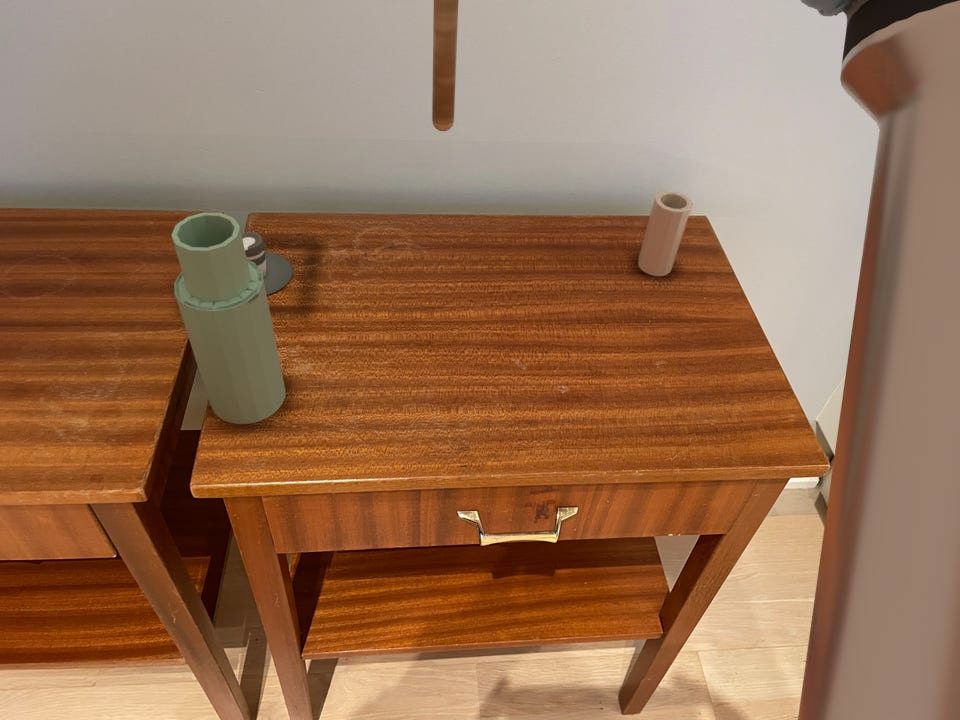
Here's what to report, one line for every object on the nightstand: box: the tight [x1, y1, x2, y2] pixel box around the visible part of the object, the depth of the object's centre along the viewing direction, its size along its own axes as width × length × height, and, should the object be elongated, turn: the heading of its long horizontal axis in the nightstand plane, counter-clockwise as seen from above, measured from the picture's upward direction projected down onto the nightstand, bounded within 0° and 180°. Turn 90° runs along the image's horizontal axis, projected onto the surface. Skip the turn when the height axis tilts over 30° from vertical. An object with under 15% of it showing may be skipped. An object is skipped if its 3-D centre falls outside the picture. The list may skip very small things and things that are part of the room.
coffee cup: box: [241, 231, 294, 296], centre depth 79 cm, size 12×12×5 cm
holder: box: [637, 190, 694, 277], centre depth 83 cm, size 4×4×9 cm
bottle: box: [170, 211, 286, 425], centre depth 62 cm, size 7×7×19 cm
